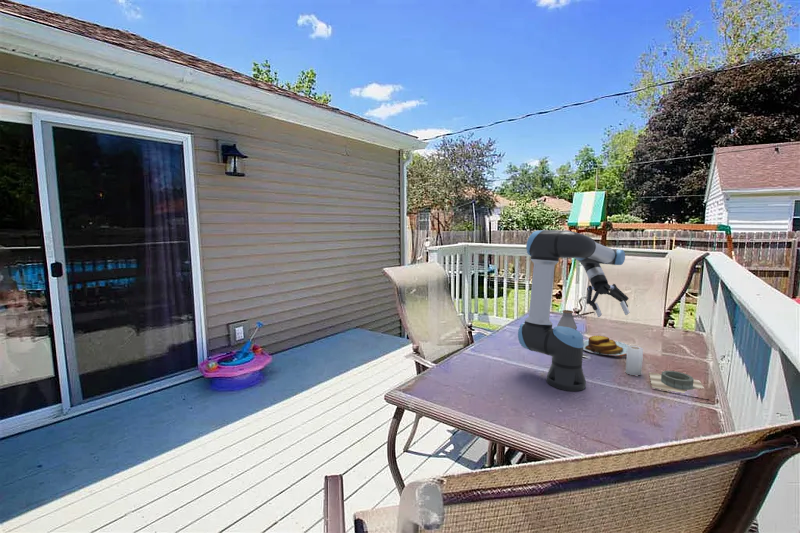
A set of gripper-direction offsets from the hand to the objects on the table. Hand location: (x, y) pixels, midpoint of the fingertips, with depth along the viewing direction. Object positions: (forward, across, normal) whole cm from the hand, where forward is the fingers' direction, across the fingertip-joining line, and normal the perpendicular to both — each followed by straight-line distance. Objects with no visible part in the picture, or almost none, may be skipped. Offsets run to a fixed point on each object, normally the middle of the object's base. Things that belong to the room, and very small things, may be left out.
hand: (613, 314), depth 175 cm
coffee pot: (-14, -7, -53) cm, 55 cm away
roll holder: (+36, -10, +4) cm, 38 cm away
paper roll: (+27, 0, -5) cm, 27 cm away
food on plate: (+7, -6, -29) cm, 31 cm away
